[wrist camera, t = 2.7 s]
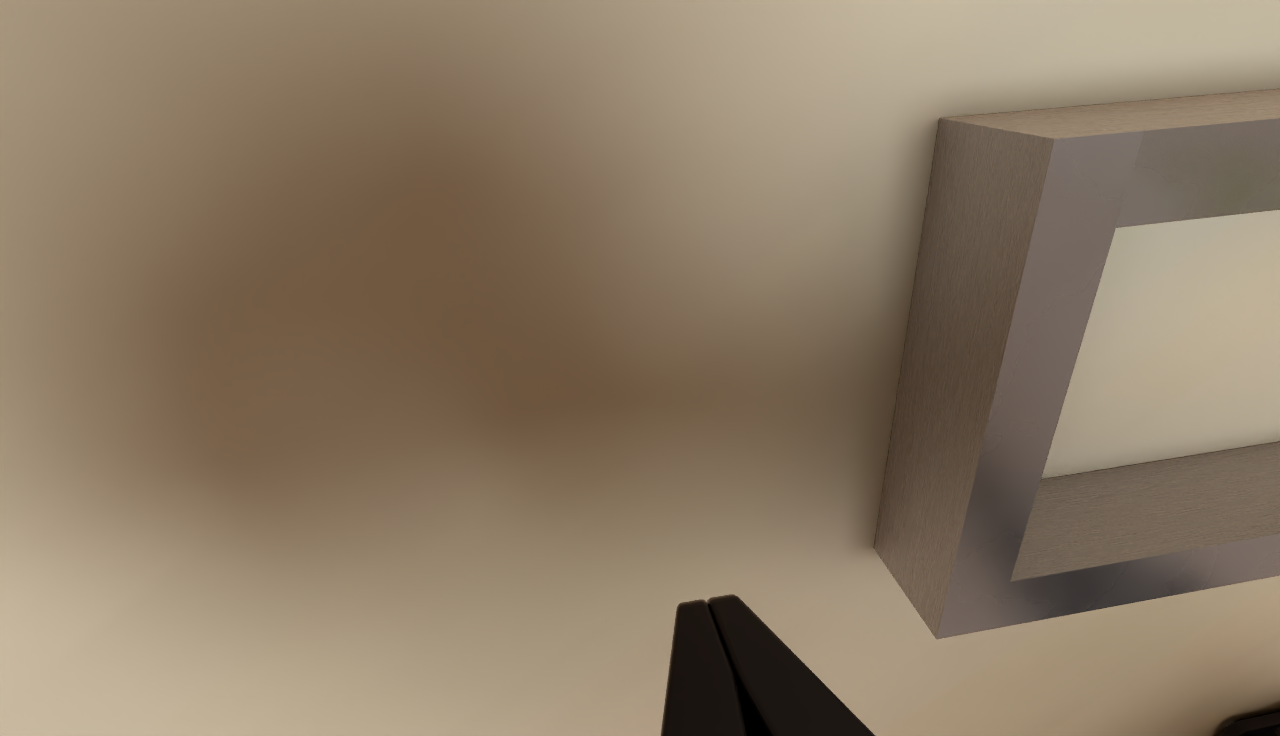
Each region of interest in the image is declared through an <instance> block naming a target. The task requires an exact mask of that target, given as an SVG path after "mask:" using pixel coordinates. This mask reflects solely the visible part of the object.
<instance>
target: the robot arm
mask: <svg viewBox="0 0 1280 736" xmlns="http://www.w3.org/2000/svg"><path fill="white" fill-rule="evenodd" d="M661 736H875V735H874V734H873V733H872V732H871V731H870V730H869V729H868V728H867V727H866V726H865V725H864V724H863V723H862V722H861V721H860V720H859V719H858V718H857V717H856V716H855V715H854V714H853V713H852V712H851V711H850V710H849V709H848V708H847V707H846V706H845V705H844V704H843V703H842V702H841V701H840V700H839V699H838V698H837V697H836V695H835V694H834V693H833V692H832V691H831V690H830V689H829V688H828V687H827V686H826V685H825V684H824V683H823V682H822V681H821V680H820V679H819V678H818V677H817V676H816V675H815V674H814V673H813V672H812V671H811V670H810V669H809V668H808V667H807V666H806V665H805V664H804V663H803V662H802V661H801V660H800V659H799V658H798V657H797V656H796V655H795V654H794V653H793V652H792V651H791V650H790V649H789V648H788V647H787V646H786V645H785V644H784V643H783V642H782V641H781V640H780V639H779V638H778V637H777V636H776V635H775V634H774V633H773V632H772V631H771V630H770V629H769V628H768V627H767V626H766V625H765V624H764V623H763V622H762V621H761V619H760V618H759V617H758V616H757V615H756V614H755V613H754V612H753V611H752V610H751V609H750V608H749V607H748V606H747V605H746V604H745V603H744V602H743V601H742V600H741V599H740V598H739V597H737V596H735V595H725V596H719V597H713V598H710V599H709V600H708V601H707V602H706V601H705V600H695V601H689V602H683V603H680V604H679V605H678V606H677V611H676V619H675V627H674V634H673V642H672V650H671V658H670V666H669V674H668V682H667V690H666V698H665V706H664V714H663V722H662V730H661ZM1221 736H1280V712H1278V713H1273V714H1268V715H1264V716H1259V717H1254V718H1250V719H1245V720H1240V721H1237V722H1234V723H1232V724H1231V725H1229V726H1228V727H1226V728H1225V730H1224V731H1223V732H1222V734H1221Z"/></svg>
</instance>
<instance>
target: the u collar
mask: <svg viewBox="0 0 1280 736" xmlns="http://www.w3.org/2000/svg"><path fill="white" fill-rule="evenodd" d="M1271 210H1280V89H1272V90H1260V91H1249V92H1237V93H1225V94H1214V95H1202V96H1191V97H1179V98H1167V99H1156V100H1144V101H1133V102H1121V103H1109V104H1098V105H1086V106H1075V107H1063V108H1051V109H1040V110H1028V111H1017V112H1005V113H993V114H982V115H970V116H959V117H947V118H939V125H938V131H937V138H936V144H935V151H934V158H933V164H932V171H931V177H930V184H929V190H928V197H927V203H926V210H925V216H924V223H923V229H922V236H921V242H920V249H919V256H918V262H917V269H916V275H915V282H914V288H913V295H912V301H911V308H910V314H909V321H908V327H907V334H906V340H905V347H904V353H903V360H902V367H901V373H900V380H899V386H898V393H897V399H896V406H895V412H894V419H893V425H892V432H891V438H890V445H889V451H888V458H887V465H886V471H885V478H884V484H883V491H882V497H881V504H880V510H879V517H878V523H877V530H876V536H875V543H874V549H875V551H876V552H877V553H878V555H879V556H880V558H881V559H882V561H883V562H884V564H885V565H886V567H887V568H888V569H889V571H890V572H891V574H892V575H893V577H894V578H895V580H896V581H897V583H898V584H899V585H900V587H901V588H902V590H903V591H904V593H905V594H906V596H907V597H908V599H909V600H910V601H911V603H912V604H913V606H914V607H915V609H916V610H917V612H918V613H919V615H920V616H921V618H922V619H923V620H924V622H925V623H926V625H927V626H928V628H929V629H930V631H931V632H932V634H933V635H934V636H935V638H936V639H941V638H946V637H951V636H957V635H962V634H968V633H973V632H978V631H984V630H989V629H994V628H1000V627H1005V626H1011V625H1016V624H1021V623H1027V622H1032V621H1037V620H1043V619H1048V618H1053V617H1059V616H1064V615H1070V614H1075V613H1080V612H1086V611H1091V610H1096V609H1102V608H1107V607H1113V606H1118V605H1123V604H1129V603H1134V602H1139V601H1145V600H1150V599H1156V598H1161V597H1166V596H1172V595H1177V594H1182V593H1188V592H1193V591H1198V590H1204V589H1209V588H1215V587H1220V586H1225V585H1231V584H1236V583H1241V582H1247V581H1252V580H1258V579H1263V578H1268V577H1274V576H1279V575H1280V442H1275V443H1269V444H1262V445H1256V446H1250V447H1243V448H1237V449H1231V450H1224V451H1218V452H1212V453H1206V454H1199V455H1193V456H1187V457H1180V458H1174V459H1168V460H1161V461H1155V462H1149V463H1143V464H1136V465H1130V466H1124V467H1117V468H1111V469H1105V470H1098V471H1092V472H1086V473H1080V474H1073V475H1067V476H1061V477H1054V478H1048V479H1042V480H1041V476H1042V473H1043V470H1044V466H1045V463H1046V460H1047V456H1048V453H1049V449H1050V446H1051V443H1052V439H1053V436H1054V433H1055V429H1056V426H1057V423H1058V419H1059V416H1060V413H1061V409H1062V406H1063V403H1064V399H1065V396H1066V392H1067V389H1068V386H1069V382H1070V379H1071V376H1072V372H1073V369H1074V366H1075V362H1076V359H1077V356H1078V352H1079V349H1080V346H1081V342H1082V339H1083V335H1084V332H1085V329H1086V325H1087V322H1088V319H1089V315H1090V312H1091V309H1092V305H1093V302H1094V299H1095V295H1096V292H1097V289H1098V285H1099V282H1100V278H1101V275H1102V272H1103V268H1104V265H1105V262H1106V258H1107V255H1108V252H1109V248H1110V245H1111V242H1112V238H1113V235H1114V232H1115V228H1118V227H1127V226H1136V225H1145V224H1154V223H1163V222H1172V221H1181V220H1190V219H1199V218H1208V217H1217V216H1226V215H1235V214H1244V213H1253V212H1262V211H1271Z"/></svg>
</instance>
